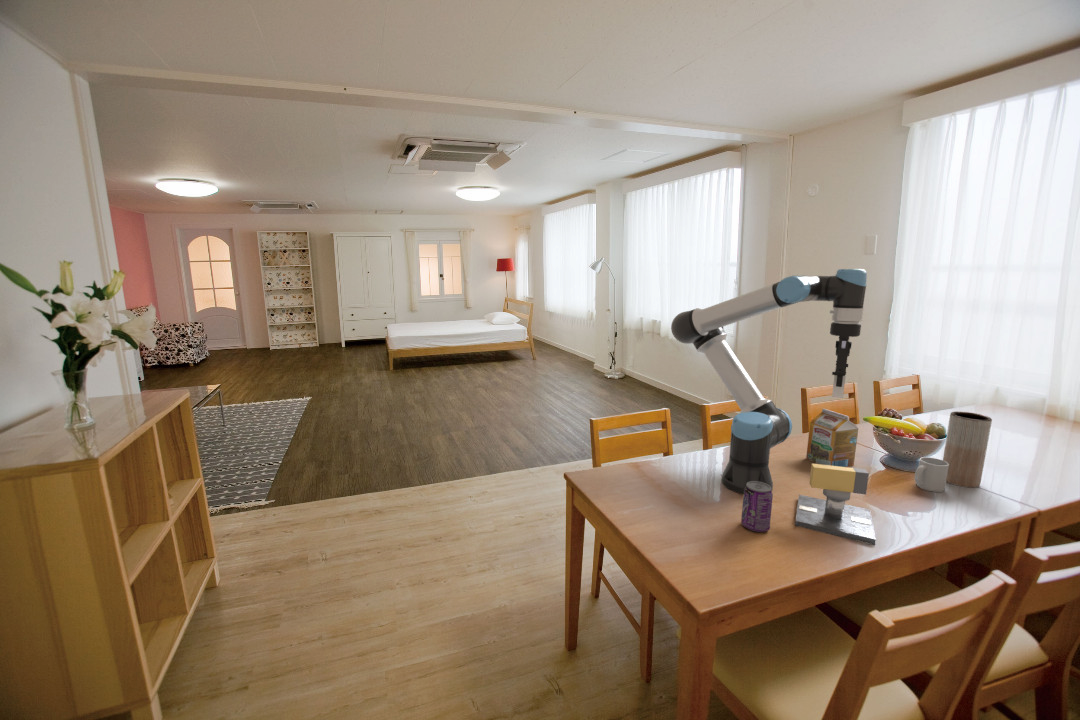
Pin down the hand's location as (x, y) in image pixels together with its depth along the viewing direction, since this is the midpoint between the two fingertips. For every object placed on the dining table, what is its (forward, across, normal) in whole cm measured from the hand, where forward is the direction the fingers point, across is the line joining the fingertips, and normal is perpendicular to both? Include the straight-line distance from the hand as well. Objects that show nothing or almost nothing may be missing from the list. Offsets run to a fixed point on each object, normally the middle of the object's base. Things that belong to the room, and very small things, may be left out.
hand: (837, 392), depth 142 cm
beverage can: (+33, +34, -16) cm, 50 cm away
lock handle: (+25, +18, +2) cm, 31 cm away
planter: (+33, -34, +37) cm, 60 cm away
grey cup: (+33, -22, +27) cm, 48 cm away
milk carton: (+33, -29, 0) cm, 44 cm away
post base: (+33, +18, +2) cm, 37 cm away
